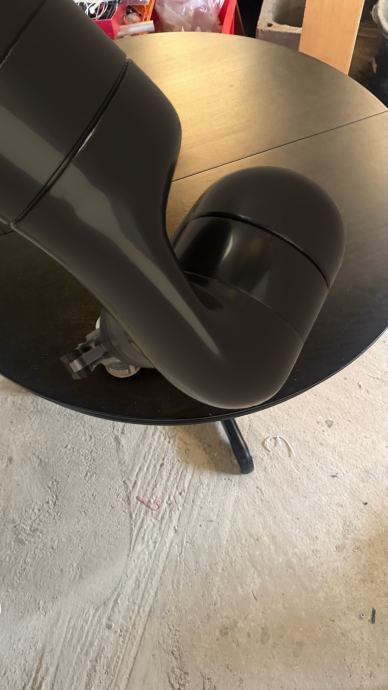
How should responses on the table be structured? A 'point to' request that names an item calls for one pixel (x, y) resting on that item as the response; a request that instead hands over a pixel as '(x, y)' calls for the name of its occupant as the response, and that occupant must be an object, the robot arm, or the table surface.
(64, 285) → the table surface
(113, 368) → the pill bottle
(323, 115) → the table surface
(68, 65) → the robot arm
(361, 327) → the table surface
